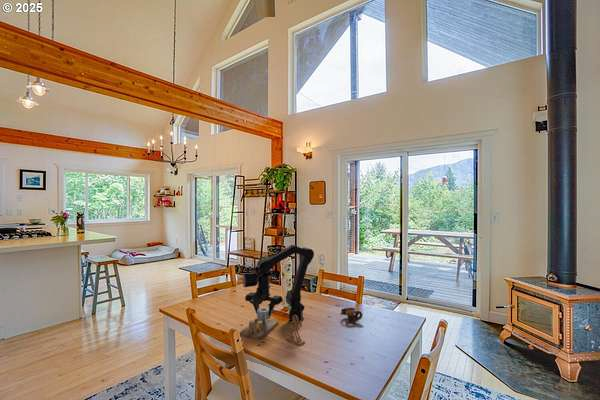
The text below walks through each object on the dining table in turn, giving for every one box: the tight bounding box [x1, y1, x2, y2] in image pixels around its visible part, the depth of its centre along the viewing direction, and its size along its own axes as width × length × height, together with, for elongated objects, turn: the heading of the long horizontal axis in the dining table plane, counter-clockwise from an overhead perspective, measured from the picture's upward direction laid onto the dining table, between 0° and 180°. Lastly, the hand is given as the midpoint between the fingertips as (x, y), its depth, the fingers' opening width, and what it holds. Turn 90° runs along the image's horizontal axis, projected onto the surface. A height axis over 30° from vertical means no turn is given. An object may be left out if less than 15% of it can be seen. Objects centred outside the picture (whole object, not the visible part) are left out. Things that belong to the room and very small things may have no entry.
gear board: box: [239, 318, 279, 341], centre depth 143 cm, size 12×18×6 cm, turn 160°
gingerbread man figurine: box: [285, 315, 306, 347], centre depth 131 cm, size 9×4×12 cm, turn 45°
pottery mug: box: [340, 307, 363, 325], centre depth 153 cm, size 12×10×8 cm
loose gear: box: [256, 307, 271, 320], centre depth 147 cm, size 7×7×4 cm
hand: (263, 315), depth 147 cm, fingers closed on loose gear, 7 cm apart
